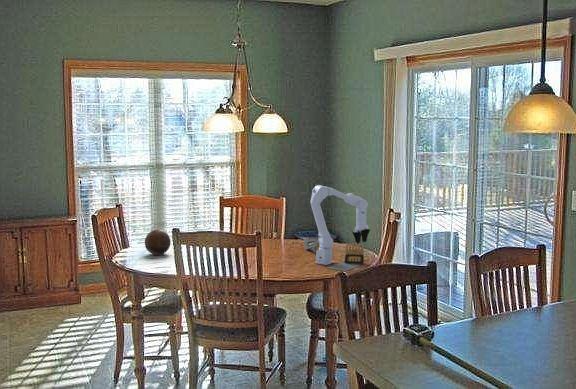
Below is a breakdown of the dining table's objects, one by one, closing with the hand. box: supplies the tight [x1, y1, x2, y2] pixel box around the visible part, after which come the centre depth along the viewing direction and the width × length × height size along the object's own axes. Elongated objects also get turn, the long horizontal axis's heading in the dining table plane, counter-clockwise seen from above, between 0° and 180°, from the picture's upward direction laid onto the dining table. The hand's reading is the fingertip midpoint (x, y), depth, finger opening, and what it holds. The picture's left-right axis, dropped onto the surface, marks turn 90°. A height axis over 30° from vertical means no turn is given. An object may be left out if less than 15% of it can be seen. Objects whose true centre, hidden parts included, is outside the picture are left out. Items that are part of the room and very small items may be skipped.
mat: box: [326, 262, 361, 272], centre depth 364 cm, size 17×12×1 cm
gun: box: [303, 238, 320, 253], centre depth 403 cm, size 3×25×15 cm, turn 19°
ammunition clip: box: [343, 241, 365, 265], centre depth 373 cm, size 11×2×12 cm, turn 95°
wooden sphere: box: [144, 229, 171, 256], centre depth 392 cm, size 15×15×15 cm
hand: (361, 242), depth 379 cm, fingers open, 7 cm apart
